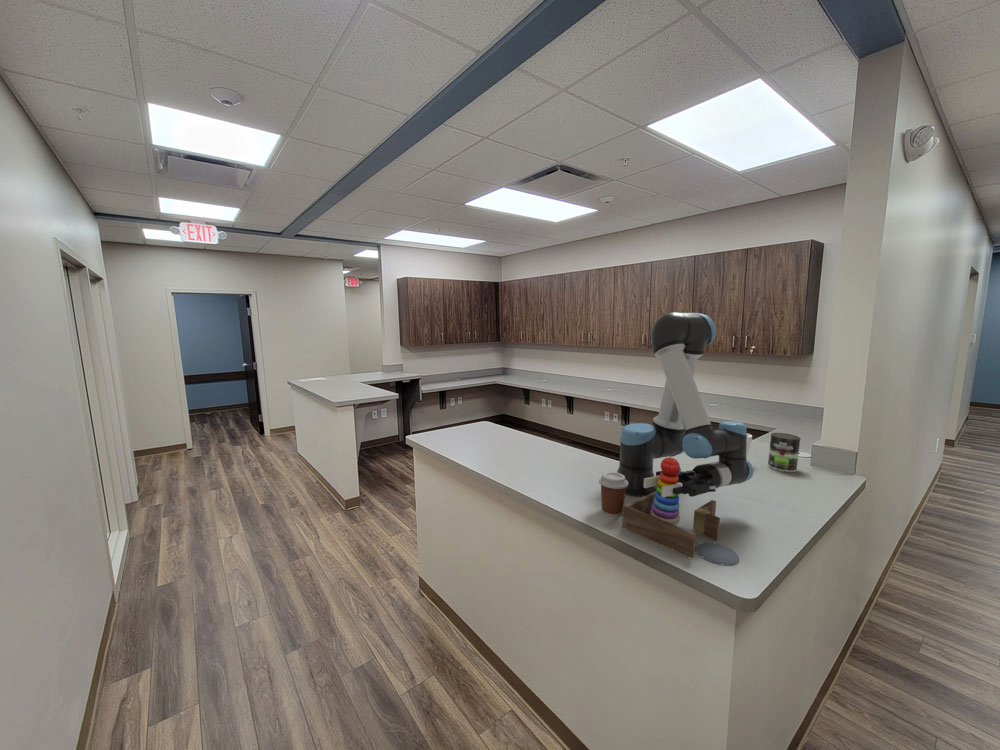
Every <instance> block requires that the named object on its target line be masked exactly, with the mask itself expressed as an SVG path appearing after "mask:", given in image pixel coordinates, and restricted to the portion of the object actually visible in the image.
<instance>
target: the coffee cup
mask: <svg viewBox="0 0 1000 750" xmlns="http://www.w3.org/2000/svg"><path fill="white" fill-rule="evenodd" d="M598 483H599V484H600V492H601V493H600V494H601V495H600V497H601V512H602V513H603V514H604V515H605V516H606V515H607V516H610V517H620V516H621V515H622V516H623V506H624V504H625V498H626V494H625V491H626V487H628V485H629V483H628V481H627V480H626V479H625V476H624V475H622V474H620V473H617V471H616V472H615V471H606V472H603V474H602V475H601V476H600V477H599V478H598Z"/></svg>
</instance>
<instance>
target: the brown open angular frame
mask: <svg viewBox="0 0 1000 750" xmlns="http://www.w3.org/2000/svg"><path fill="white" fill-rule="evenodd" d="M655 493H656V491H655V492H652V493H650V494H648V495H646V496H641V497H640V498H638V499H635V500H634V501H630V502H629V503H627V504H625V505H623V513H622V522H621V523H622V524H621V527H622V528H623V529H626V530H628V531H630V532H633V533H634V534H637V535H639V536H641V537H643V538H645V539H647V538H648V540H650V541H651V542H652V541H653V542H654V543H656V542H657V543H656V544H658V543H659V544H658V545H660V544H662V545H664V546H663V547H665V546H666V547H665V548H667V547H668V548H667V549H669V548H670V549H669V550H671V549H673V550H675V551H677V552H676V553H678V552H679V553H678V554H680V553H681V554H680V555H682V554H683V555H682V556H684V555H685V557H686V556H687V558H688V557H690V558H692V559H694V558H695V550H696V535H697V533H695V532H693V531H689V530H688V529H685V528H683V527H680V526H679V525H676V524H674V525H673V524H671V523H668V522H666V521H664V520H661V519H659V518H656V517H654V516H651V515H650V512H651V510H652V508H651V506H652V504H653V503H654V498H655ZM699 508H702V509H705V510H707V511H710V514H706V522H705V535H704V537H706V538H708V539H711V540H712V541H715V542H716V541H718V540H719V533H720V532H719V531H720V520H721V517H719V516H717V515H716V509H717V501H716V500H714V499H711V500H709V501H708V502H707V503H705V504H703V505H701V506H700V507H699ZM662 545H661V546H662ZM673 550H672V551H673ZM675 551H674V552H675ZM693 557H694V558H693ZM690 558H689V559H690Z"/></svg>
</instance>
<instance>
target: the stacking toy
mask: <svg viewBox="0 0 1000 750" xmlns="http://www.w3.org/2000/svg"><path fill="white" fill-rule="evenodd" d="M680 465H681V464H680V463H679V461H678V460H677V459H675V458H673V457H669V456H668V457H664V458H663V459H662V461H661V462H660V471H663V472H662V473H661V474H660V479H659V480H658V486H657V488H656V490H657V491H656V493H655V498H654V503H653V504H652V506H651V508H652V510H651V512H650V515H651V516H654V517H656V518H659V519H661V520H664V521H666V522H668V523H671V524H673V525H676V524H678V523H679V522H680V519H681V517H680V516H681V515H680V509H679V508H680V502H679V501H680V496H679V494H678V495H672V496H667V497H662V496H661V493H662V487H664V486H669V485H674V484H679V483H677V482H678V479H679V478H678V476H677V475H676V474H677V473H678V472H679V470H680V468H681V466H680Z"/></svg>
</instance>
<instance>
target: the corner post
mask: <svg viewBox="0 0 1000 750" xmlns="http://www.w3.org/2000/svg"><path fill="white" fill-rule="evenodd" d="M693 512H694V513H693V514H694V515H693V522H692V523H693V524H692V525H693V526H692V532H693V533H695V534H696V535H697V534H698V535H700V536H704V535H705V522H706V514H710V511H707V510H705V509H702V508H700V507H698V508H696V509H694V511H693ZM704 537H705V536H704Z"/></svg>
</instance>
